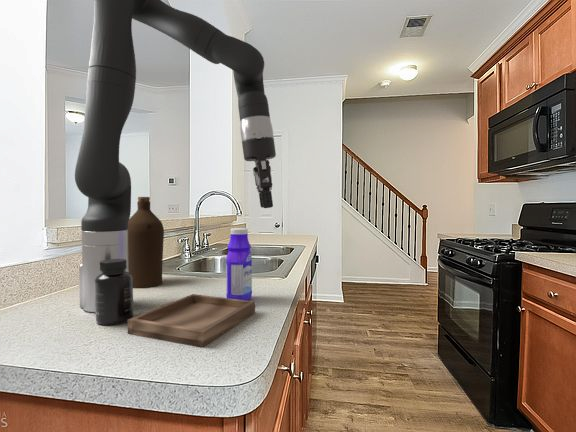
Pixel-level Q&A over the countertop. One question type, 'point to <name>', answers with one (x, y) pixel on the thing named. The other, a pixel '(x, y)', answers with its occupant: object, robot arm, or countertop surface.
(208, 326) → the walnut tray
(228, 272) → the bottle
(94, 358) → the countertop surface
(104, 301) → the supplement bottle
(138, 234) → the olive oil
